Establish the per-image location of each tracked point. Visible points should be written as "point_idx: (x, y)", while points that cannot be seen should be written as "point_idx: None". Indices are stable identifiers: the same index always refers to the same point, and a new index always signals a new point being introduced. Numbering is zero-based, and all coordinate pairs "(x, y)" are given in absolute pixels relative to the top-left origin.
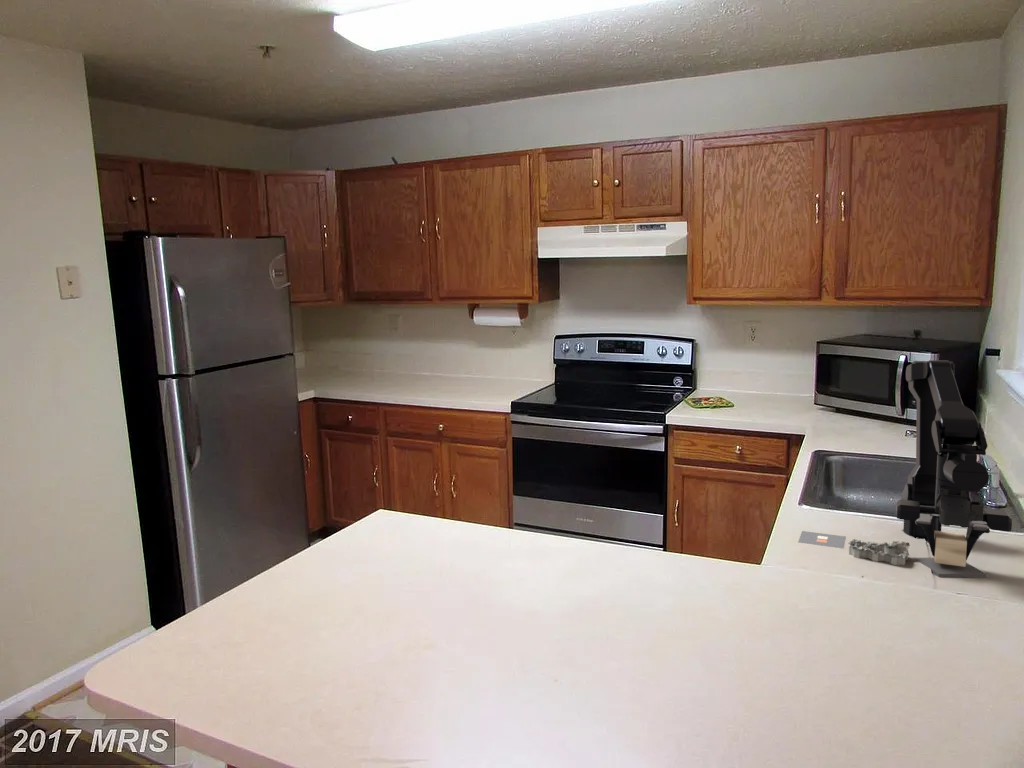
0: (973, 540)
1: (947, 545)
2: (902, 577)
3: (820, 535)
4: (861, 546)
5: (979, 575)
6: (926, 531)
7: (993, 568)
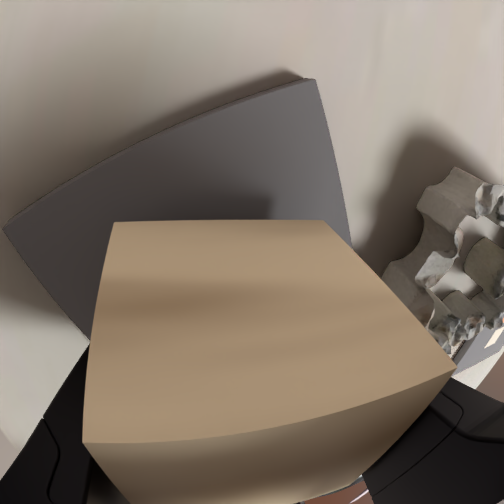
0: (36, 473)
1: (321, 332)
2: (462, 41)
3: (489, 348)
4: None
5: (38, 200)
6: (490, 406)
7: (18, 362)
